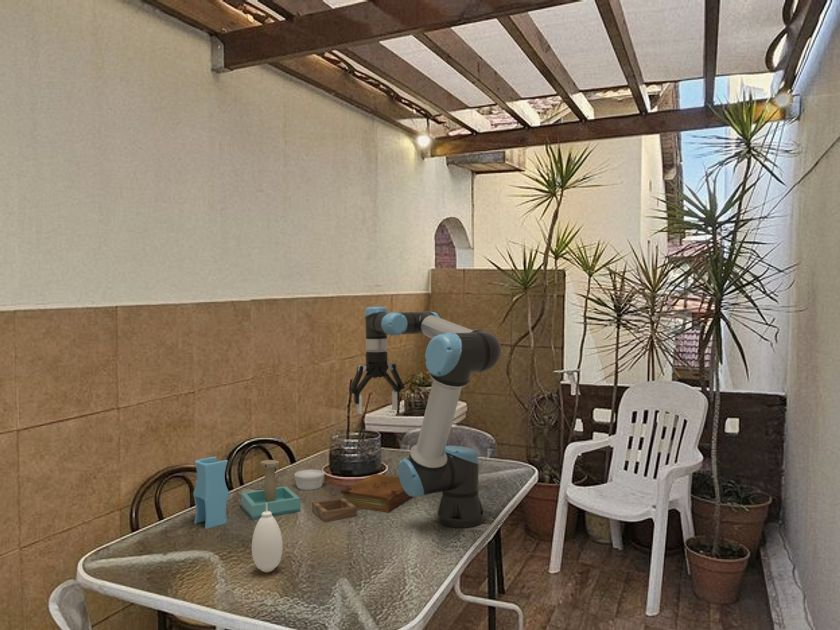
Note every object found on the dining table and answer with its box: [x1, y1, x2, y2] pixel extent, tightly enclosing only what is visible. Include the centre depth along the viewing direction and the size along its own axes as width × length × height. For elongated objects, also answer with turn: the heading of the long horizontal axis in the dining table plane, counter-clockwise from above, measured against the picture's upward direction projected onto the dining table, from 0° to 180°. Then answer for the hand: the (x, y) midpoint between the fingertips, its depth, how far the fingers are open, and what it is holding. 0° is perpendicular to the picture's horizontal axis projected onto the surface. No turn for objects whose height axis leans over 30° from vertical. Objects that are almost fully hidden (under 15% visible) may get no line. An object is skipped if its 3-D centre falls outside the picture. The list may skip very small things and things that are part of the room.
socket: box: [311, 496, 358, 523], centre depth 206 cm, size 12×11×3 cm
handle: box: [260, 459, 280, 502], centre depth 212 cm, size 5×6×15 cm
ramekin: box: [293, 469, 325, 491], centre depth 238 cm, size 11×11×5 cm
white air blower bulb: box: [251, 502, 284, 573], centre depth 163 cm, size 8×8×18 cm
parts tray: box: [240, 485, 301, 521], centre depth 212 cm, size 16×16×4 cm
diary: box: [340, 473, 413, 513], centre depth 221 cm, size 23×19×6 cm
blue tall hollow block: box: [192, 456, 230, 530], centre depth 199 cm, size 8×8×20 cm
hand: (377, 411), depth 218 cm, fingers open, 13 cm apart
